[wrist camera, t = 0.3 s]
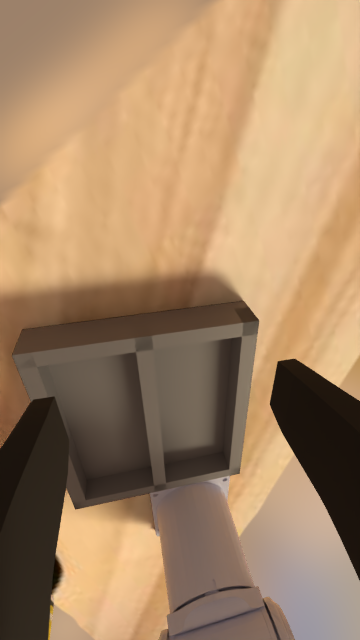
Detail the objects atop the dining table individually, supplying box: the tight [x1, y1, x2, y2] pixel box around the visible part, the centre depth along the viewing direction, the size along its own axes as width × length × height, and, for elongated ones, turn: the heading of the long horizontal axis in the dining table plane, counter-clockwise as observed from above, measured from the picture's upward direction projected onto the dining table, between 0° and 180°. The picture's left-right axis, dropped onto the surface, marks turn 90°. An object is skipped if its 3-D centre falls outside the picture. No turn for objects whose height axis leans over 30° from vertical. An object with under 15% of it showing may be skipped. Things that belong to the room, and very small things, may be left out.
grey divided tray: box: [12, 301, 259, 509], centre depth 23 cm, size 16×14×2 cm
